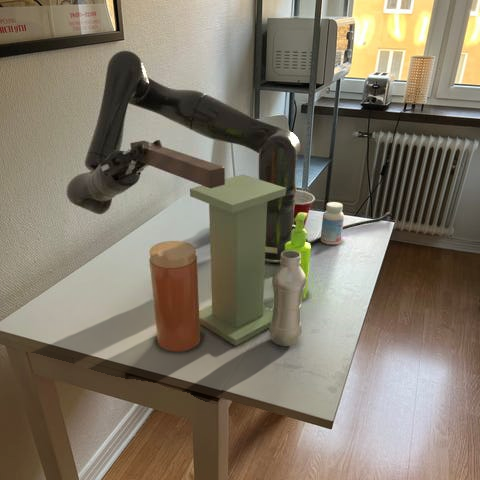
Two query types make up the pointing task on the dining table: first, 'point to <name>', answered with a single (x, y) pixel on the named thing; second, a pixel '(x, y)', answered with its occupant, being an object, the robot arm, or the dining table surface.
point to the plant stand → (237, 256)
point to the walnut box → (183, 165)
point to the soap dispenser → (300, 246)
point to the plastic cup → (302, 204)
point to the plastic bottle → (287, 299)
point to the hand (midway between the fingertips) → (151, 146)
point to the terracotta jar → (175, 294)
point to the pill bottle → (332, 223)
